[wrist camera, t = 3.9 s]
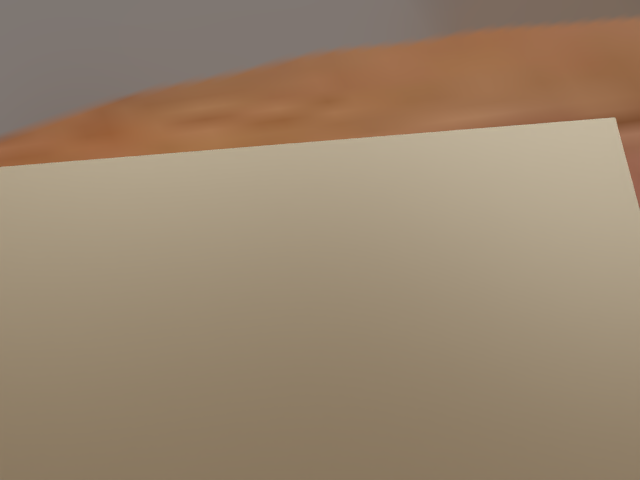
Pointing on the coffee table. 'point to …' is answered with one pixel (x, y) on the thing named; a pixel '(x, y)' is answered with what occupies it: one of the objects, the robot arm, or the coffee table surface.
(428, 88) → the coffee table surface
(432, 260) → the beige rectangular block
